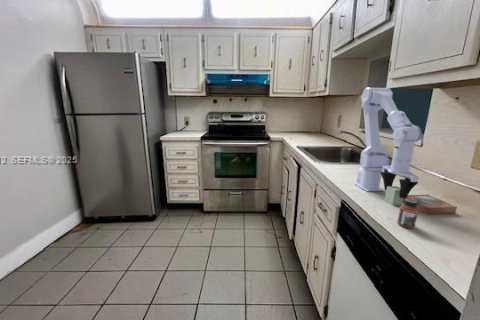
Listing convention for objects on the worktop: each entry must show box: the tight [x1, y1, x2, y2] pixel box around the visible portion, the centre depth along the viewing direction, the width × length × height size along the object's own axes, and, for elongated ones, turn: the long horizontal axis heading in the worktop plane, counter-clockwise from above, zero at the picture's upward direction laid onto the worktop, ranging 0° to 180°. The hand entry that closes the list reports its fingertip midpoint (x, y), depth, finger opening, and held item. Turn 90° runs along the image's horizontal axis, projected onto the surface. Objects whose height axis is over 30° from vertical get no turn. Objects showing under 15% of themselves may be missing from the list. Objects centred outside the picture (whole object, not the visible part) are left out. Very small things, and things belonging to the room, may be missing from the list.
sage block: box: [384, 185, 404, 206], centre depth 87 cm, size 4×4×6 cm
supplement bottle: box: [397, 199, 419, 229], centre depth 70 cm, size 4×4×8 cm
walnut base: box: [402, 194, 458, 216], centre depth 84 cm, size 11×11×3 cm
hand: (394, 193), depth 86 cm, fingers open, 7 cm apart
